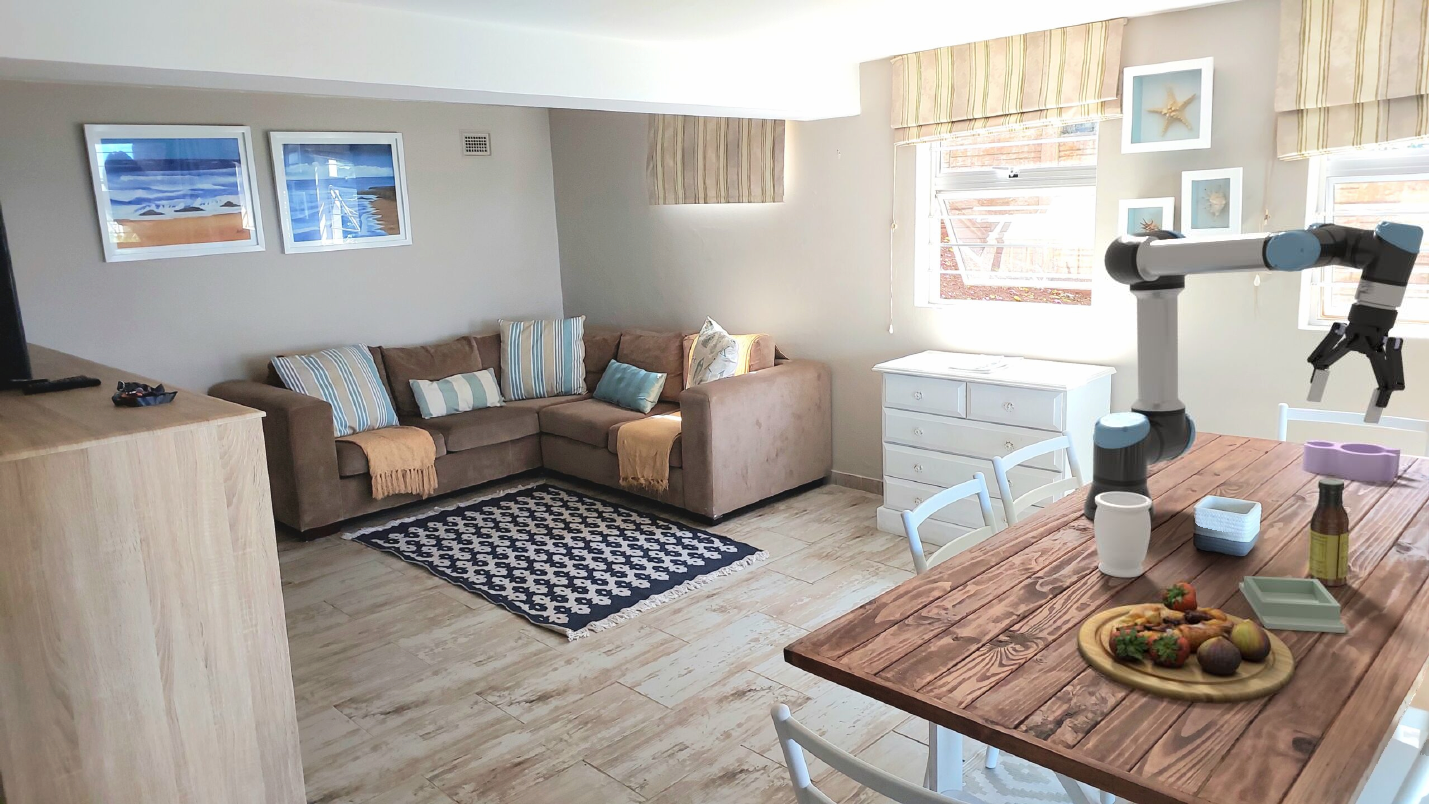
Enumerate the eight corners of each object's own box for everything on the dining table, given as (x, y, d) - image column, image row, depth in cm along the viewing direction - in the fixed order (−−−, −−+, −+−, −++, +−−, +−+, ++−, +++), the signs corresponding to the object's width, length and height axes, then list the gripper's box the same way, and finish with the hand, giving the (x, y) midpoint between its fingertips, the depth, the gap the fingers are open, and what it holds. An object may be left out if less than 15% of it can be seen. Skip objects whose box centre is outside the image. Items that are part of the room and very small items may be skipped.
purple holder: (1298, 473, 248) (1300, 447, 247) (1308, 462, 258) (1310, 437, 256) (1392, 485, 235) (1394, 458, 234) (1399, 473, 244) (1402, 446, 243)
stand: (1265, 628, 165) (1266, 609, 164) (1239, 587, 182) (1240, 569, 181) (1345, 632, 161) (1347, 613, 161) (1310, 590, 178) (1312, 572, 178)
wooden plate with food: (1112, 601, 180) (1113, 559, 178) (1311, 640, 159) (1314, 594, 158) (1048, 672, 156) (1048, 625, 154) (1272, 730, 136) (1274, 676, 134)
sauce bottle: (1335, 574, 185) (1343, 475, 181) (1353, 587, 179) (1362, 485, 175) (1299, 575, 185) (1306, 476, 181) (1316, 588, 179) (1324, 485, 175)
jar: (1154, 581, 186) (1157, 507, 183) (1098, 579, 189) (1100, 506, 186) (1142, 561, 197) (1144, 490, 194) (1088, 560, 199) (1090, 490, 196)
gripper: (1307, 290, 193) (1276, 391, 199) (1419, 317, 170) (1380, 431, 176) (1338, 294, 195) (1306, 394, 201) (1452, 321, 172) (1413, 433, 177)
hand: (1340, 411), depth 188 cm, fingers open, 13 cm apart
